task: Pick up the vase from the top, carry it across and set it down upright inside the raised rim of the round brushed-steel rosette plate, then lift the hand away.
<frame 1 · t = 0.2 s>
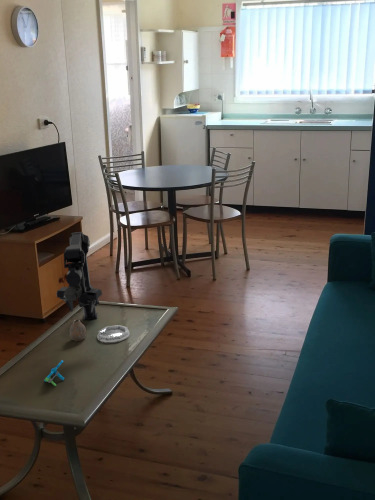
hand: (81, 312, 243), 14 cm above the table, tool pointing down, fingers open, 9 cm apart
rosette plate: (113, 336, 250), on the table
vase: (79, 339, 250), on the table
blue green rod structure: (54, 381, 216), on the table
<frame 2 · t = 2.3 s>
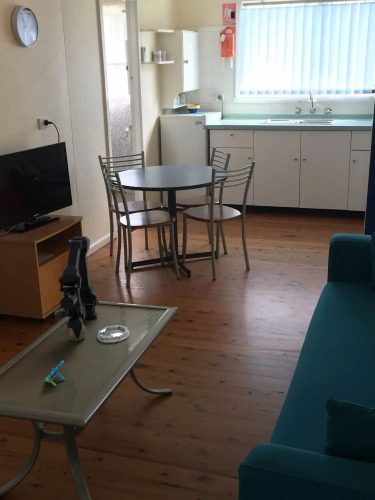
hand: (78, 334, 249), 2 cm above the table, tool pointing down, fingers closed on vase, 7 cm apart
vase: (79, 339, 250), on the table, touching gripper
everything else where it was.
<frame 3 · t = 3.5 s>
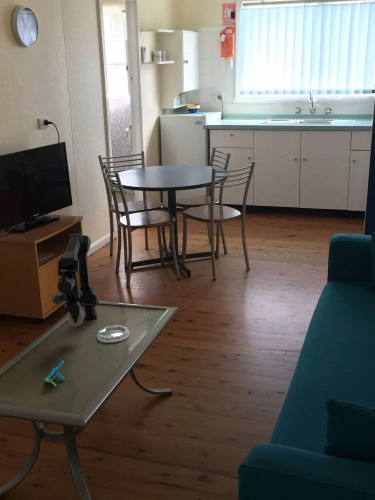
hand: (76, 319, 247), 9 cm above the table, tool pointing down, fingers closed on vase, 7 cm apart
vase: (76, 324, 248), point 7 cm above the table, touching gripper
everything else where it was.
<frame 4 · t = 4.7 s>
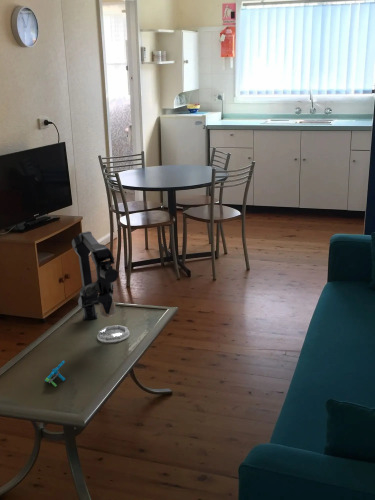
hand: (107, 310, 247), 12 cm above the table, tool pointing down, fingers closed on vase, 7 cm apart
vase: (108, 315, 247), point 10 cm above the table, touching gripper
everything else where it was.
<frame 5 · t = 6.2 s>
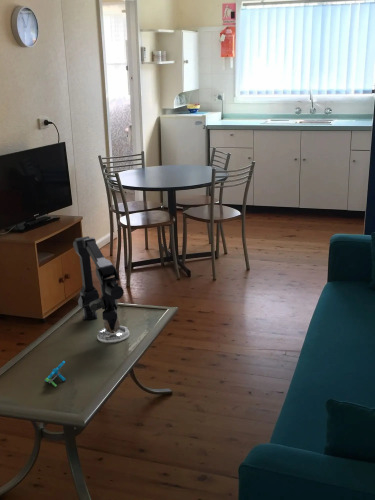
hand: (112, 326, 249), 4 cm above the table, tool pointing down, fingers closed on vase, 7 cm apart
vase: (112, 331, 250), point 2 cm above the table, touching gripper
everything else where it was.
when the fingers open (4 cm above the table, at t = 7.2 s): vase stays where it is, resting on rosette plate.
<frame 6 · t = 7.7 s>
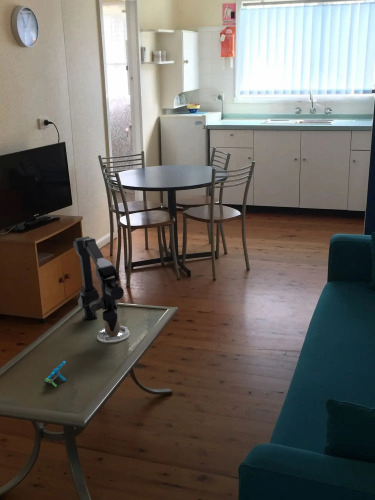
hand: (112, 326, 249), 4 cm above the table, tool pointing down, fingers open, 9 cm apart
vase: (113, 334, 250), point 1 cm above the table, touching rosette plate
everything else where it was.
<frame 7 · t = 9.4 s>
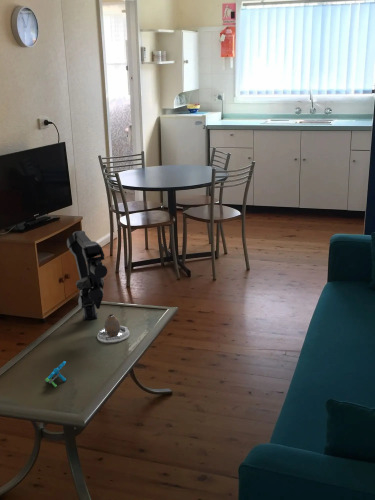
hand: (98, 304, 255), 12 cm above the table, tool pointing down, fingers open, 9 cm apart
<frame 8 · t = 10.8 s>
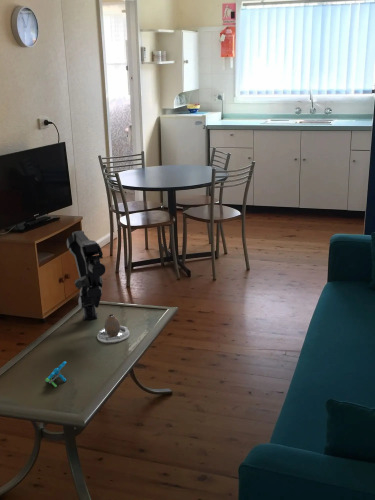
hand: (97, 303, 256), 12 cm above the table, tool pointing down, fingers open, 9 cm apart
at the end: vase 0.1 cm off-centre on the rosette plate, point 0.8 cm above the rosette plate's base; vase tilted 0°; the gripper is holding nothing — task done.
